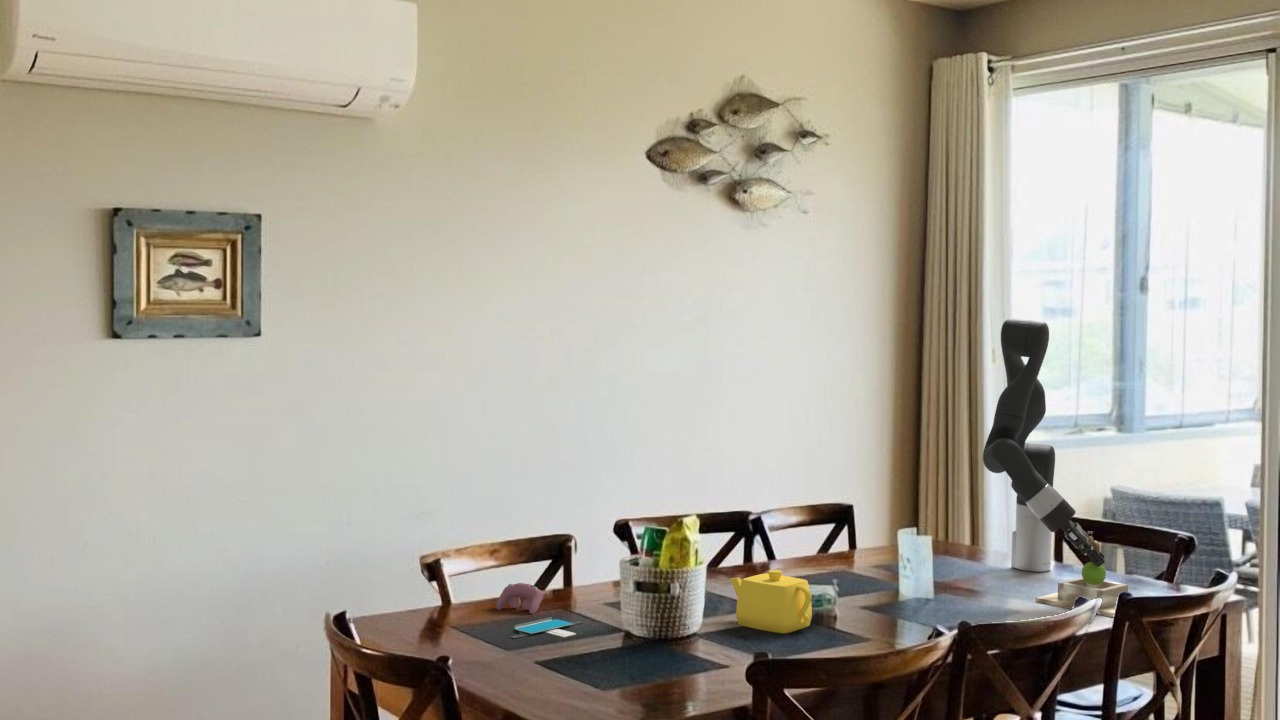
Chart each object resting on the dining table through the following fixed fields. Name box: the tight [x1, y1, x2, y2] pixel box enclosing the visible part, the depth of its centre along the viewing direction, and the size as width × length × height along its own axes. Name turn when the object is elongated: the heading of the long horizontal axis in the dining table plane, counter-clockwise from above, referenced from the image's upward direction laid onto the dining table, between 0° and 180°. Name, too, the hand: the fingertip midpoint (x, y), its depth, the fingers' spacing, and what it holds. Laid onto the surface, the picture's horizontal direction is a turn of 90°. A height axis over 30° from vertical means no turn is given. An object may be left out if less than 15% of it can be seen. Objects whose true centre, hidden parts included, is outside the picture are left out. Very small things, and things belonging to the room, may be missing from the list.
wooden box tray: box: [1035, 576, 1129, 618], centre depth 317 cm, size 20×16×5 cm
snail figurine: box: [1081, 531, 1107, 585], centre depth 317 cm, size 5×6×12 cm
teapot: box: [730, 569, 813, 634], centre depth 292 cm, size 20×12×12 cm, turn 51°
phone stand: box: [510, 616, 584, 639], centre depth 282 cm, size 20×12×2 cm, turn 138°
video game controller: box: [495, 582, 544, 615], centre depth 301 cm, size 10×5×7 cm, turn 66°
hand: (1101, 561), depth 316 cm, fingers closed on snail figurine, 5 cm apart
